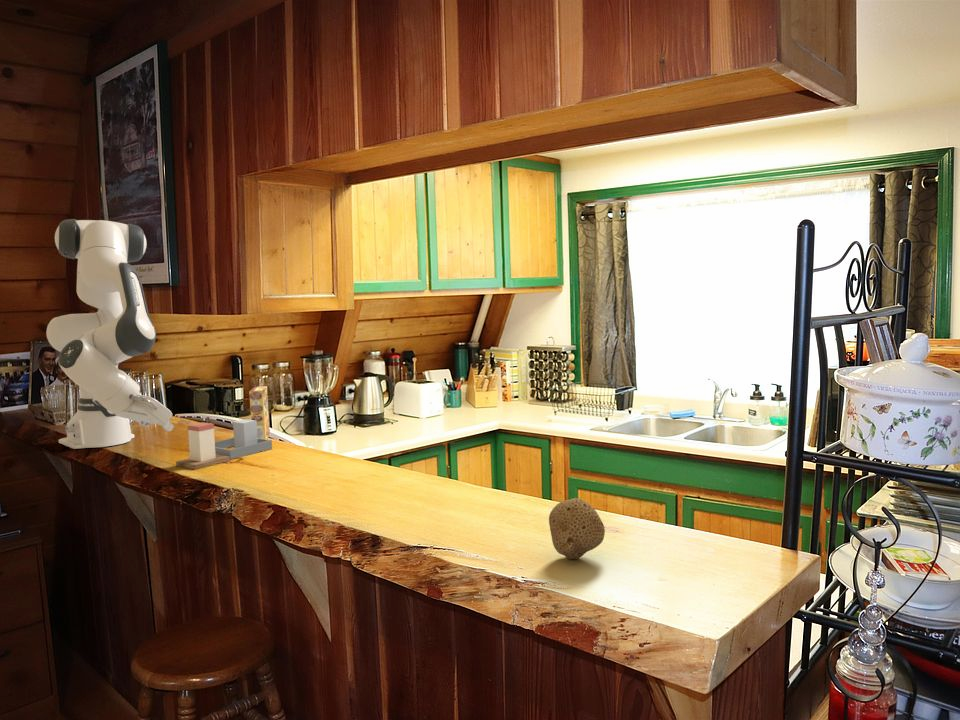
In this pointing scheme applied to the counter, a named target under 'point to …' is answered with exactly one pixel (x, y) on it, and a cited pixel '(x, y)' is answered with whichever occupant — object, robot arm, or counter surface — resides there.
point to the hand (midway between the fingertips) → (159, 426)
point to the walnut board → (197, 464)
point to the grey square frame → (241, 448)
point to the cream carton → (201, 441)
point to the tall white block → (245, 433)
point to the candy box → (260, 411)
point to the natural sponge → (575, 528)
